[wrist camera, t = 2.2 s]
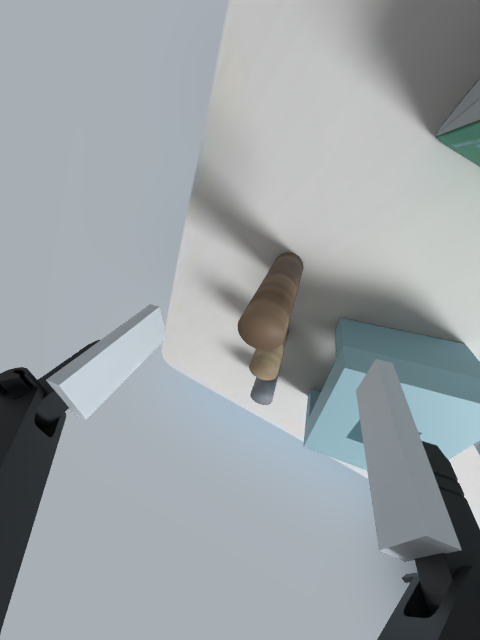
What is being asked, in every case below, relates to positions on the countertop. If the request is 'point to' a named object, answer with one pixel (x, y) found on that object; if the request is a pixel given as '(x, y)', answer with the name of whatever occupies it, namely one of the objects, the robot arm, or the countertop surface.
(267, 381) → the charcoal pin
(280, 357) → the oak pin
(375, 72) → the countertop surface
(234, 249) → the countertop surface
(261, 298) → the walnut pin
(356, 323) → the bridge
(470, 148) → the box
